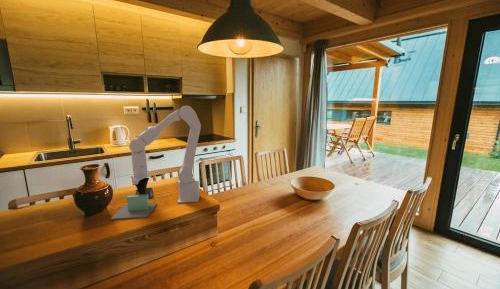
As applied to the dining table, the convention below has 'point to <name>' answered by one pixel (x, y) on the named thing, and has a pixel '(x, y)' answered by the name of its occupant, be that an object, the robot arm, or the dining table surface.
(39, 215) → the dining table surface
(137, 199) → the block
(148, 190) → the phone
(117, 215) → the mat
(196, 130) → the robot arm
